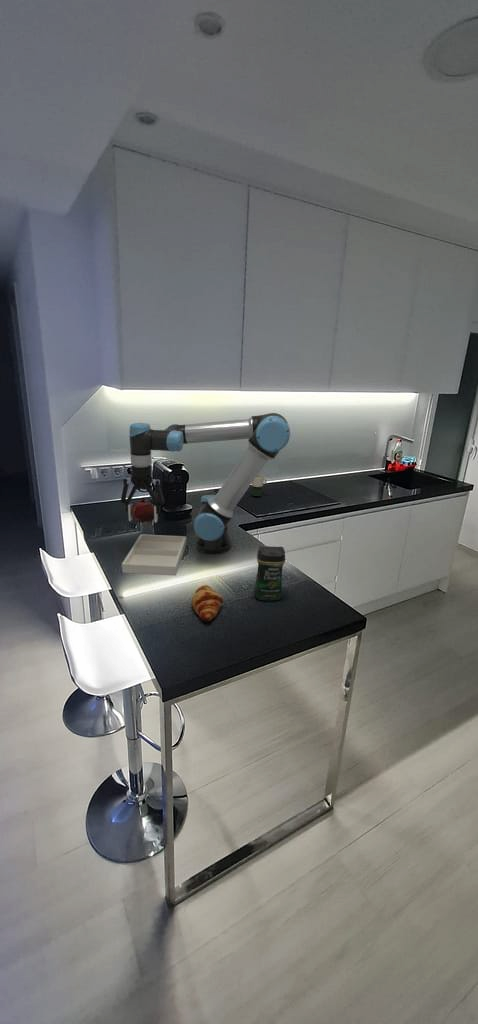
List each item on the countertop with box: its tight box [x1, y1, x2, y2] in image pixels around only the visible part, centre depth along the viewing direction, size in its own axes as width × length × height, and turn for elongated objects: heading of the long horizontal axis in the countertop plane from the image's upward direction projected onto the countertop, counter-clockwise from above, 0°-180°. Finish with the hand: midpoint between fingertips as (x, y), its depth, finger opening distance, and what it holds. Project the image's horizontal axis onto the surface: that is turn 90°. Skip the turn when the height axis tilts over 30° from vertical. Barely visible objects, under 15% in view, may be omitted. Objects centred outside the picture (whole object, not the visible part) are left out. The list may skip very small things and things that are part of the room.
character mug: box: [251, 473, 268, 497], centre depth 255 cm, size 11×7×13 cm, turn 92°
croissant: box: [190, 584, 224, 623], centre depth 139 cm, size 21×10×8 cm, turn 7°
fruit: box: [131, 497, 154, 525], centre depth 167 cm, size 9×10×10 cm
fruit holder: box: [121, 533, 187, 576], centre depth 172 cm, size 20×29×4 cm
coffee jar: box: [253, 545, 286, 602], centre depth 145 cm, size 10×8×19 cm
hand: (143, 520), depth 168 cm, fingers closed on fruit, 9 cm apart
